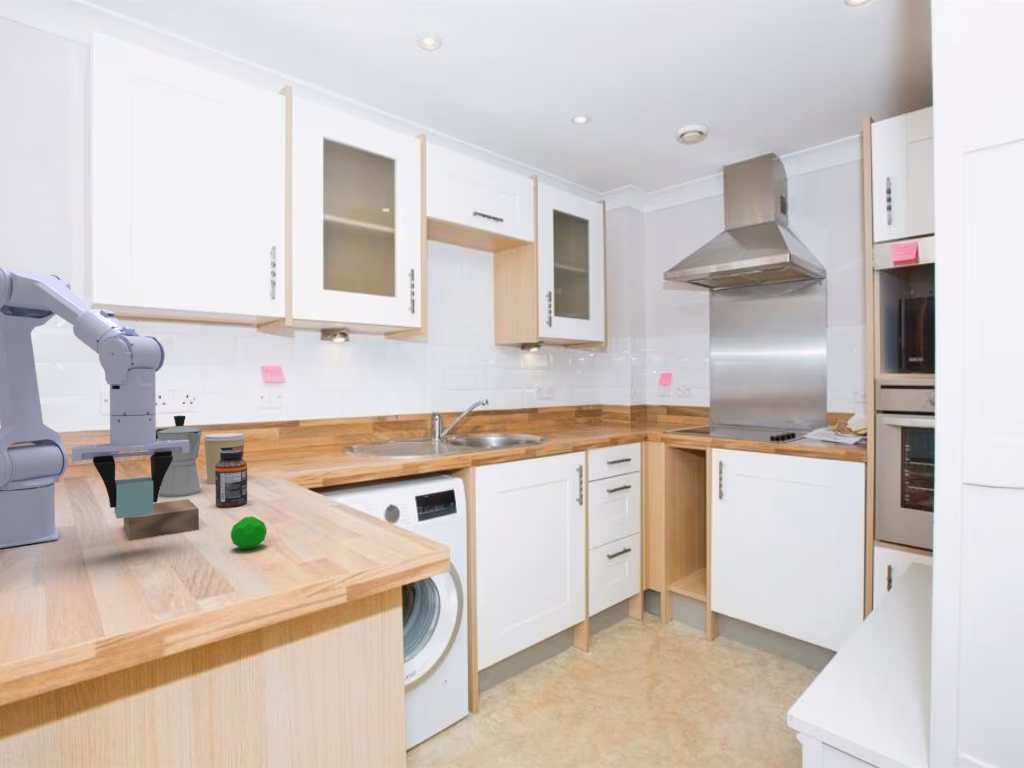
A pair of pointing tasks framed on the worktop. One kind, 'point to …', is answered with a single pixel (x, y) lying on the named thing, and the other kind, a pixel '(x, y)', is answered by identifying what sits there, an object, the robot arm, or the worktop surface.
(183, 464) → the coffee maker
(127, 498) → the teal block
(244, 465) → the supplement bottle
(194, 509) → the walnut block
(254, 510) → the worktop surface
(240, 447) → the coffee cup
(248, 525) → the polyhedron
